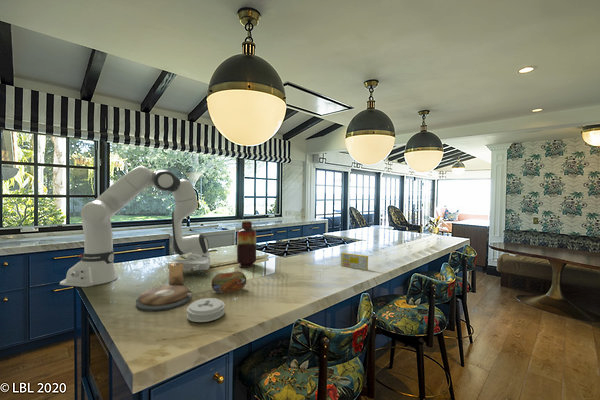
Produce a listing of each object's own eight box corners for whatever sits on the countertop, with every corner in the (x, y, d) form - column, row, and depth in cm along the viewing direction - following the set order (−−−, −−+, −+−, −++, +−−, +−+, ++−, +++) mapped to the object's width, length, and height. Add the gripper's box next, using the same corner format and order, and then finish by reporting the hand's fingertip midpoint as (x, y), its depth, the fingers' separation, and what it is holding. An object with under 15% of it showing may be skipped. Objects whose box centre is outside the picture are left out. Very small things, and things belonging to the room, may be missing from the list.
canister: (166, 287, 125) (166, 265, 125) (172, 283, 131) (172, 262, 131) (179, 288, 125) (179, 266, 125) (185, 283, 131) (185, 262, 131)
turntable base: (124, 310, 101) (124, 306, 101) (153, 290, 121) (153, 287, 121) (178, 311, 101) (178, 307, 101) (198, 291, 121) (198, 288, 121)
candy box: (368, 270, 157) (368, 255, 157) (366, 271, 155) (367, 256, 155) (341, 265, 166) (342, 252, 165) (340, 266, 164) (340, 252, 163)
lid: (220, 324, 92) (220, 309, 92) (181, 325, 91) (181, 310, 91) (227, 308, 105) (227, 295, 105) (193, 308, 104) (193, 295, 104)
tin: (212, 295, 117) (212, 275, 117) (210, 292, 120) (210, 273, 120) (246, 289, 124) (246, 271, 124) (244, 287, 127) (244, 269, 127)
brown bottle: (233, 265, 163) (233, 221, 163) (249, 262, 171) (249, 220, 170) (243, 269, 155) (243, 223, 154) (259, 265, 163) (260, 221, 162)
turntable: (128, 305, 102) (128, 301, 102) (154, 288, 120) (154, 284, 120) (181, 306, 102) (181, 302, 102) (199, 288, 120) (199, 285, 120)
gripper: (174, 255, 150) (162, 262, 136) (212, 256, 150) (203, 263, 136) (174, 267, 150) (162, 275, 136) (212, 267, 150) (203, 275, 136)
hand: (183, 269), depth 136 cm, fingers open, 8 cm apart
